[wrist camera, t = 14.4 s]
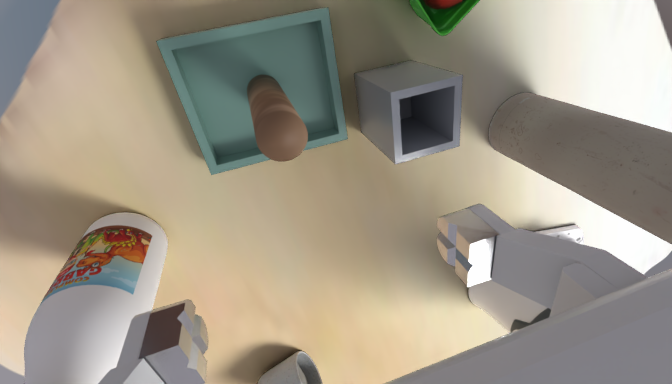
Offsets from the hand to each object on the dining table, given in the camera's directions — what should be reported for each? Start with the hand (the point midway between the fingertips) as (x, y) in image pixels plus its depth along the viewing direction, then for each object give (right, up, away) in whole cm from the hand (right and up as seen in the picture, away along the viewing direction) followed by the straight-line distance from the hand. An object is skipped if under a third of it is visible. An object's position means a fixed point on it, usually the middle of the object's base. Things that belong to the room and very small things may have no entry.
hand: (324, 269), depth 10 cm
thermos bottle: (+23, +11, +32) cm, 41 cm away
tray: (-7, +12, +21) cm, 25 cm away
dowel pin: (-6, +12, +21) cm, 25 cm away
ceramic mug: (-7, -26, +43) cm, 51 cm away
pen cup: (+6, +13, +25) cm, 29 cm away
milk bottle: (-22, -3, +25) cm, 33 cm away
